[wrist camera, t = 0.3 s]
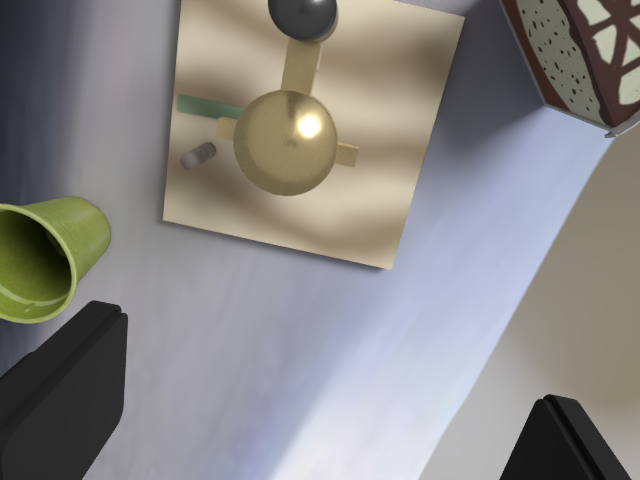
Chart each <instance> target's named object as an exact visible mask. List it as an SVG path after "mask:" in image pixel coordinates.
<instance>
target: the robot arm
mask: <svg viewBox="0 0 640 480" xmlns="http://www.w3.org/2000/svg"><path fill="white" fill-rule="evenodd" d="M127 328H128V316H127V314H126V313H121V308H120V306H119V305H115V304H110V303H105V302H100V301H95V300H94V301H91V302H89V303H88V304H87V305H86V306H85V307H84V308H82V309H81V310H80V311H79V312H78V313H77V314H76V315H75V316H73V317H72V318H71V319H70V320H69V321H68V322H67V323H66V324H64V325H63V326H62V327H61V328H60V329H59V330H58V331H57V332H55V333H54V334H53V335H52V336H51V337H50V338H49V339H48V340H47V341H45V342H44V343H43V344H42V345H41V346H40V347H39V348H38V349H36V350H35V351H34V352H30V353H29V354H27V355H26V356H24V357H23V358H22V359H21V360H20V361H19V362H17V363H16V364H15V365H14V366H13V367H12V368H11V369H9V370H8V371H7V372H6V373H5V374H4V375H3V376H2V377H0V480H82V478H83V477H84V475H85V474H86V472H87V471H88V469H89V468H90V466H91V465H92V463H93V462H94V460H95V459H96V457H97V456H98V454H99V453H100V451H101V449H102V448H103V446H104V445H105V443H106V442H107V440H108V439H109V437H110V436H111V434H112V433H113V431H114V430H115V428H116V427H117V425H118V423H119V421H120V419H121V416H122V412H123V407H124V387H125V367H126V348H127ZM499 480H631V478H630V477H629V475H628V474H627V472H626V471H625V469H624V468H623V466H622V465H621V463H620V462H619V460H618V459H617V458H616V456H615V455H614V453H613V452H612V450H611V449H610V447H609V446H608V444H607V443H606V441H605V440H604V439H603V437H602V436H601V434H600V433H599V431H598V430H597V428H596V427H595V425H594V424H593V422H592V421H591V420H590V418H589V417H588V415H587V414H586V412H585V411H584V409H583V408H582V406H581V405H580V404H579V402H577V400H574V399H571V398H566V397H561V396H556V395H551V394H549V395H546V396H545V397H544V398H543V399H538V400H537V401H536V402H535V404H534V406H533V408H532V410H531V412H530V414H529V417H528V419H527V421H526V423H525V425H524V427H523V430H522V432H521V434H520V436H519V438H518V441H517V443H516V445H515V447H514V449H513V451H512V453H511V456H510V458H509V460H508V462H507V464H506V466H505V469H504V471H503V473H502V475H501V477H500V479H499Z"/></svg>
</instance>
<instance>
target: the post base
mask: <svg viewBox="0 0 640 480" xmlns="http://www.w3.org/2000/svg"><path fill="white" fill-rule="evenodd" d="M336 1H337V6H338V11H339V19H338V24H337V27H336V29H335V31H334V33H333V34H332V35H331V36H330V37H329V38H328V39H327V40H326V41H324V42H322V43H321V48H320V53H319V59H318V64H317V69H316V74H315V79H314V85H313V90H312V96H314V97H315V98H317V99H318V100H319V101H321V102H322V103H323V104H324V105H325V107H326V108H327V109H328V110H329V112H330V113H331V115H332V117H333V119H334V121H335V124H336V128H337V132H338V142H340V143H345V144H349V145H354V146H358V147H359V151H358V155H357V159H356V163H355V167H354V168H353V167H349V166H344V165H340V164H335V163H334V165H333V167H332V169H331V171H330V173H329V174H328V176H327V177H326V178H325V179H324V181H323V182H321V183H320V184H319V185H318V186H317V187H315V188H314V189H312V190H310V191H308V192H306V193H303V194H300V195H295V196H280V195H274V194H271V193H268V192H266V191H264V190H262V189H260V188H258V187H257V186H256V185H254V184H253V183H252V182H251V181H250V180H249V179H248V178H247V177H246V176H245V174H244V173H243V172H242V170H241V168H240V167H239V164H238V162H237V160H236V157H235V153H234V146H233V141H231V140H226V139H222V138H217V137H216V131H217V123H218V118H220V117H227V118H232V119H236V120H238V119H239V117H240V115H241V113H242V112H243V110H244V109H245V108H246V107H247V106H248V105H249V104H250V103H251V102H252V101H253V100H255V99H256V98H258V97H260V96H262V95H264V94H266V93H269V92H272V91H276V90H280V88H281V82H282V76H283V70H284V64H285V58H286V52H287V46H288V40H289V36H287V35H285V34H284V33H282V32H281V31H280V30H279V29H278V28H277V27H276V25H275V24H274V22H273V21H272V19H271V16H270V13H269V10H268V0H182V1H181V12H180V24H179V36H178V48H177V59H176V71H175V83H174V95H173V106H172V118H171V130H170V142H169V154H168V165H167V177H166V189H165V201H164V212H163V220H164V221H169V222H173V223H178V224H183V225H187V226H192V227H196V228H201V229H206V230H210V231H215V232H219V233H224V234H229V235H233V236H238V237H242V238H247V239H252V240H256V241H261V242H265V243H270V244H274V245H279V246H284V247H288V248H293V249H297V250H302V251H307V252H311V253H316V254H320V255H325V256H330V257H334V258H339V259H343V260H348V261H353V262H357V263H362V264H366V265H371V266H376V267H380V268H385V269H389V270H391V269H392V265H393V262H394V259H395V255H396V252H397V248H398V245H399V242H400V238H401V235H402V231H403V228H404V225H405V221H406V218H407V214H408V211H409V207H410V204H411V201H412V197H413V194H414V190H415V187H416V184H417V180H418V177H419V173H420V170H421V167H422V163H423V160H424V156H425V153H426V149H427V146H428V143H429V139H430V136H431V132H432V129H433V126H434V122H435V119H436V115H437V112H438V109H439V105H440V102H441V98H442V95H443V92H444V88H445V85H446V81H447V78H448V74H449V71H450V68H451V64H452V61H453V57H454V54H455V51H456V47H457V44H458V40H459V37H460V34H461V30H462V27H463V23H464V20H465V17H463V16H459V15H454V14H450V13H445V12H441V11H436V10H432V9H428V8H423V7H419V6H414V5H410V4H405V3H401V2H397V1H392V0H336Z"/></svg>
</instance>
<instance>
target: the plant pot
mask: <svg viewBox="0 0 640 480" xmlns="http://www.w3.org/2000/svg"><path fill="white" fill-rule="evenodd" d="M52 235H53V236H54V237H55V238H56V239H57V240H56V239H54V237H53V236H52ZM110 236H111V235H110V227H109V224H108V222H107V220H106V218H105V216H104V215H103V213H102V212H101V211H100V210H99V209H97V208H96V207H94V206H93V205H91V204H90V203H88V202H87V201H86V200H84V199H82V198H78V197H62V198H57V199H52V200H48V201H44V202H39V203H34V204H29V205H24V206H15V205H10V204H0V318H3V319H5V320H9V321H12V322H18V323H38V322H43V321H47V320H49V319H51V318H53V317H55V316H57V315H58V314H60V313H61V312H62V311H63V310H64V309H65V308H66V307H67V306H68V305H69V303H70V302H71V300H72V299H73V297H74V294H75V292H76V288H77V285H78V282H79V281H80V280H81V278H82V277H83V276H84V275H85V274H86V273H87V271H88V270H89V269H90V268H91V267H92V266H93V265H94V263H95V262H96V261H97V260H98V259H99V258H100V257H101V256H102V255H103V254H104V252H105V251H106V249H107V247H108V245H109V243H110Z"/></svg>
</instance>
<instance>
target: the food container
mask: <svg viewBox="0 0 640 480" xmlns="http://www.w3.org/2000/svg"><path fill="white" fill-rule="evenodd" d="M498 1H499V4H500V6H501V8H502V11H503V13H504V15H505V17H506V20H507V22H508V24H509V26H510V29H511V31H512V33H513V35H514V38H515V40H516V42H517V45H518V47H519V49H520V51H521V54H522V56H523V58H524V60H525V63H526V65H527V67H528V69H529V72H530V74H531V76H532V78H533V81H534V83H535V85H536V88H537V90H538V92H539V94H540V97H541V99H542V101H543V103H544V106H547V107H549V108H552V109H554V110H557V111H559V112H562V113H564V114H567V115H570V116H572V117H575V118H577V119H580V120H582V121H585V122H587V123H590V124H592V125H595V126H597V127H600V128H602V129H605V130H607V131H610V132H609V133H608V134H606V135H604V136H605V138H611V137H617V136H619V135H621V134H623V133H625V132H626V131H628V130H629V129H631V128H632V127H634V126H636V125H637V124H638V123H639V122H640V0H498Z"/></svg>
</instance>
